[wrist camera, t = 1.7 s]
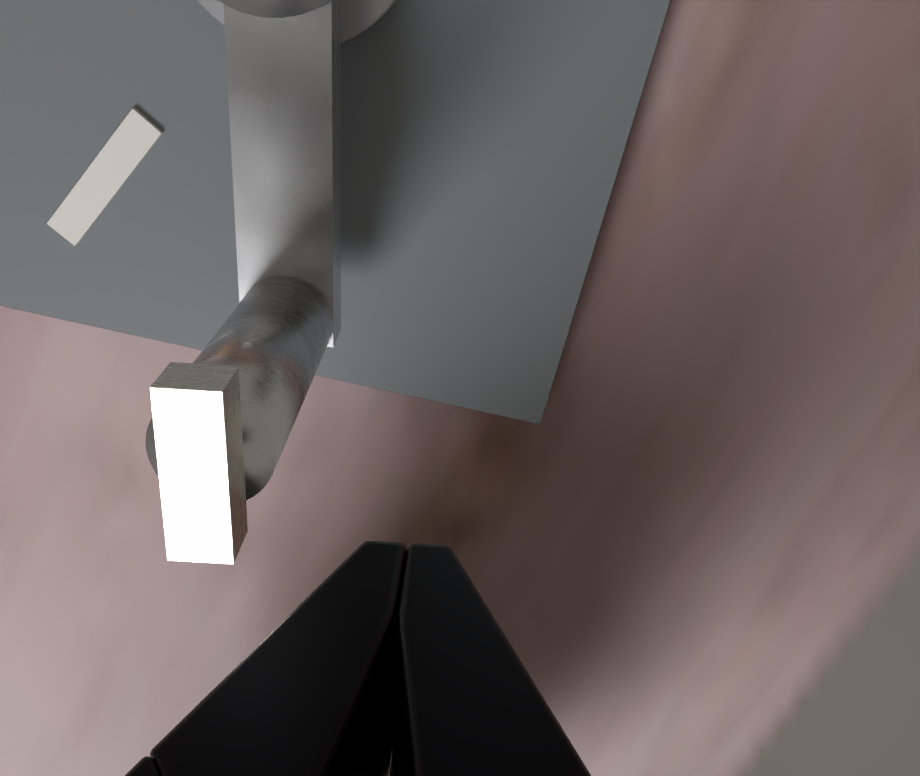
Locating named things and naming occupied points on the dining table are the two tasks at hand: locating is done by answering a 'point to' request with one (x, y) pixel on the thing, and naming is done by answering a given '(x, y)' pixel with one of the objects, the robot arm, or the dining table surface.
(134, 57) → the crank bed
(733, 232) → the dining table surface
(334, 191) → the crank
